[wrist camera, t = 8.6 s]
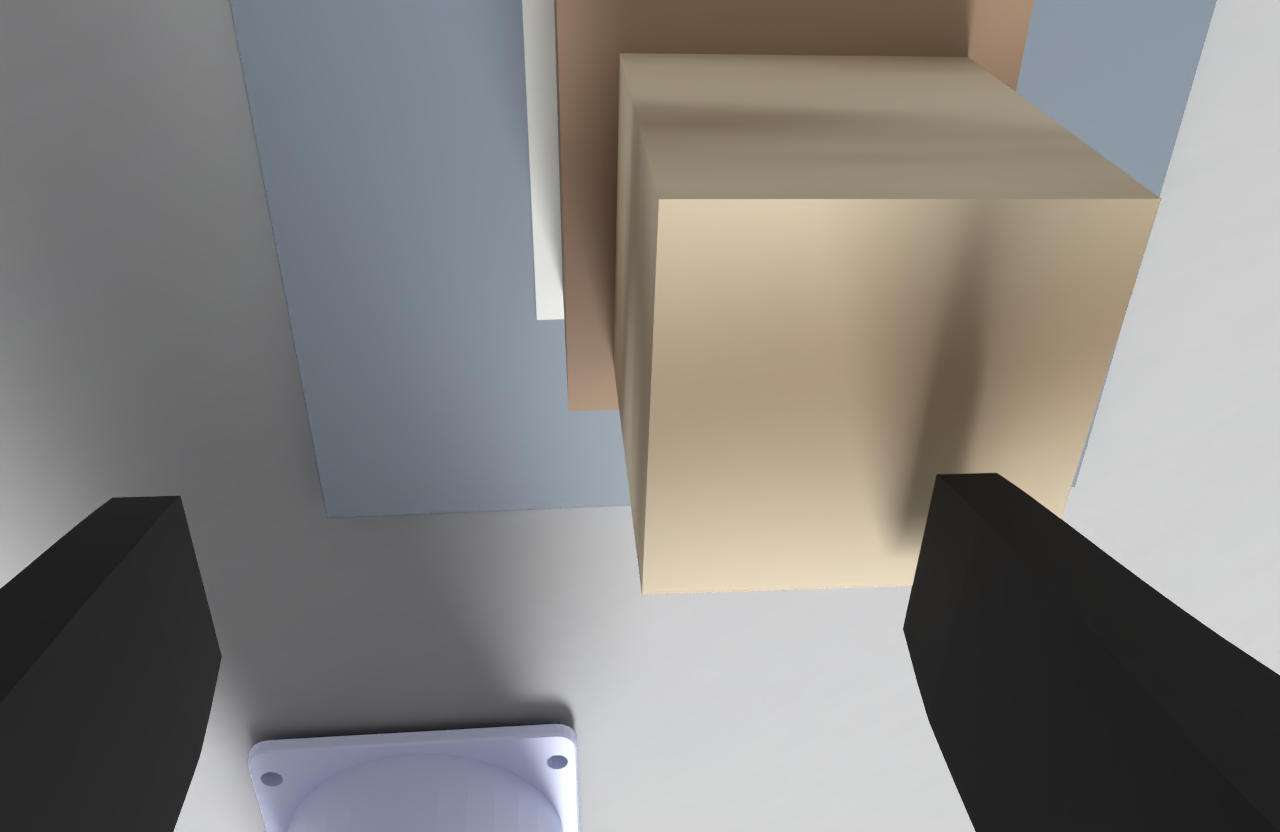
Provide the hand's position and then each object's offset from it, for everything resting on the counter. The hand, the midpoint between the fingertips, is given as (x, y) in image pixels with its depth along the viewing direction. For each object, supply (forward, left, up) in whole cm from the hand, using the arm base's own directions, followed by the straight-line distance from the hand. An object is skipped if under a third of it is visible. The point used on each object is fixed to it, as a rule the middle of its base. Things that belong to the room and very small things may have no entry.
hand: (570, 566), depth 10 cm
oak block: (+1, -3, -6) cm, 6 cm away
